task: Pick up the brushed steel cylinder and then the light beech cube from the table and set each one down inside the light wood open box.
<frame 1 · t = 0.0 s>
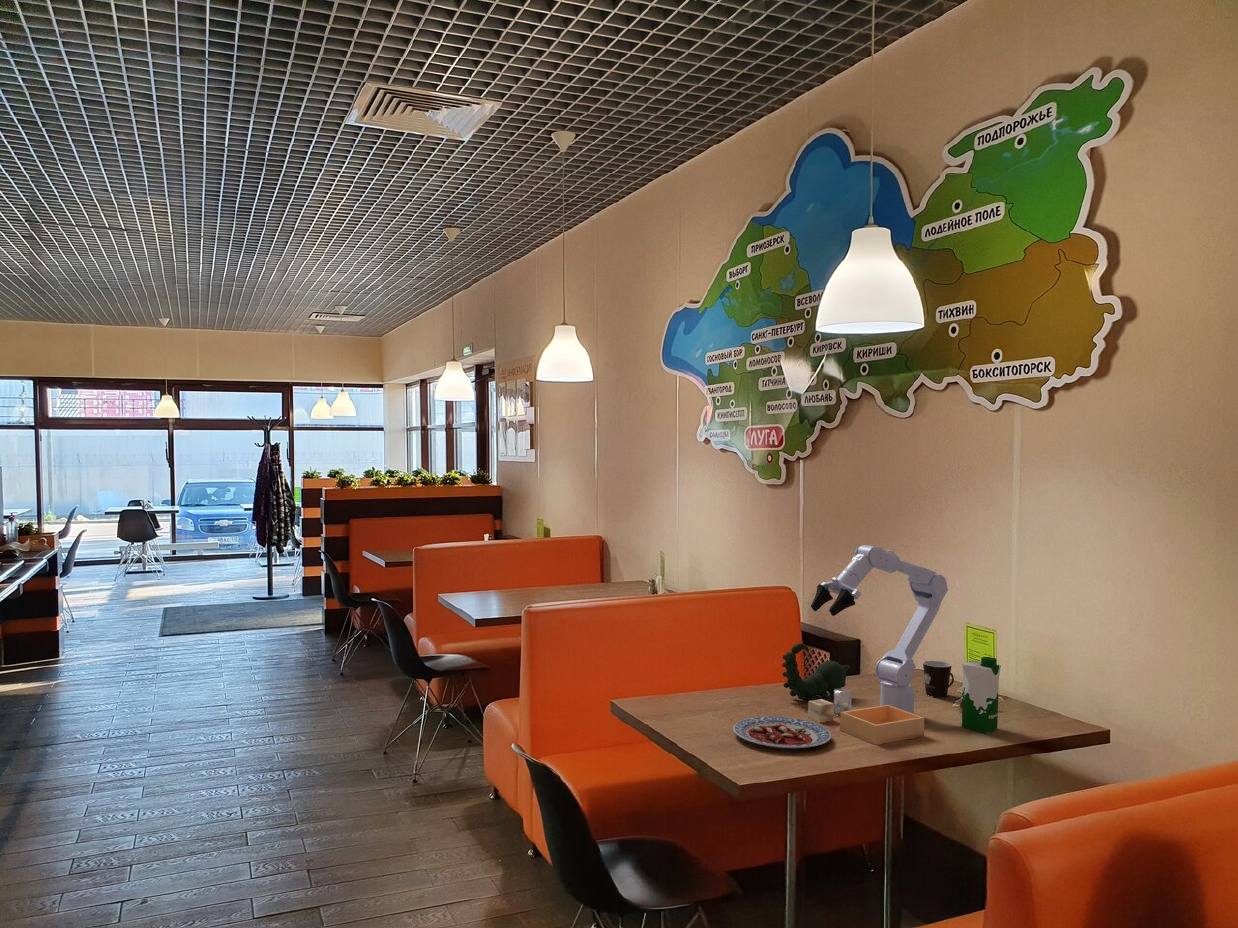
hand: (822, 611, 253), 32 cm above the table, tool tilted 50°, fingers open, 7 cm apart
ceramic plate: (781, 739, 242), on the table
beech cube: (820, 719, 260), on the table
milk carton: (979, 728, 255), on the table
steel cylinder: (842, 714, 265), on the table
coffee mug: (937, 696, 287), on the table
toy figurine: (817, 698, 282), on the table
light wood open box: (881, 732, 248), on the table
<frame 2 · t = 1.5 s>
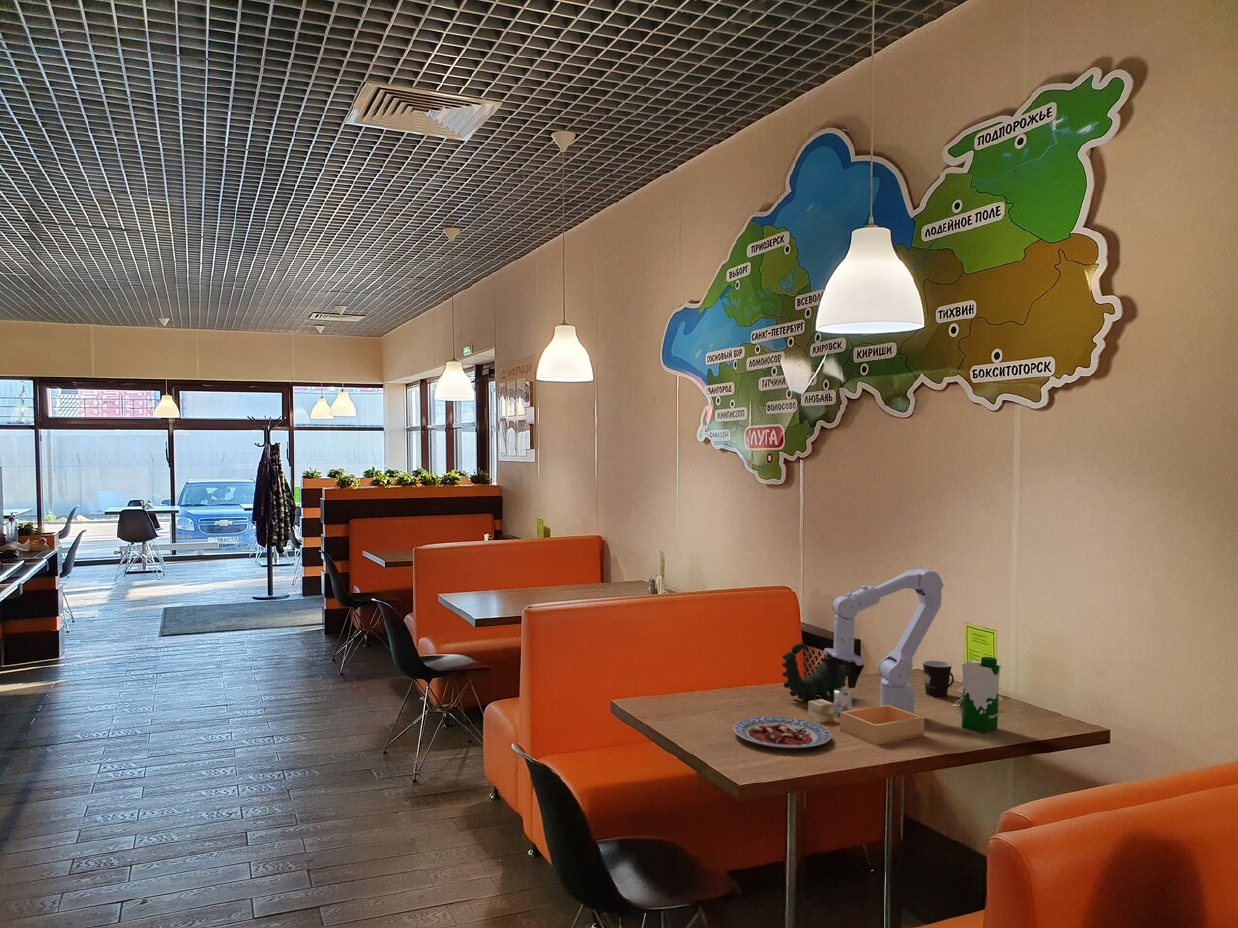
hand: (842, 684, 265), 9 cm above the table, tool pointing down, fingers open, 7 cm apart
nothing on the table moved.
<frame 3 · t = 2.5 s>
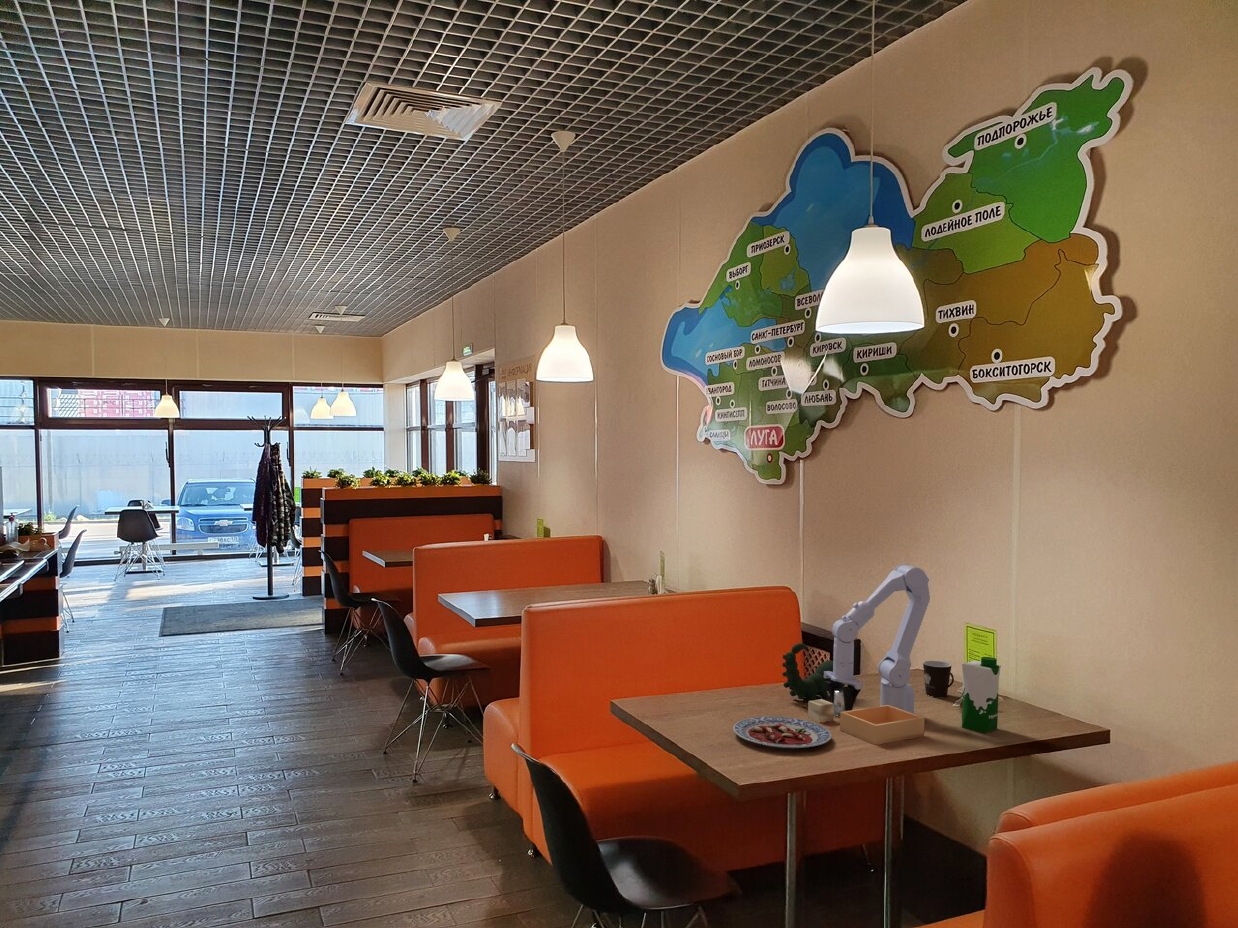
hand: (842, 707, 265), 2 cm above the table, tool pointing down, fingers closed on steel cylinder, 5 cm apart
steel cylinder: (842, 714, 265), on the table, touching gripper
everything else where it was.
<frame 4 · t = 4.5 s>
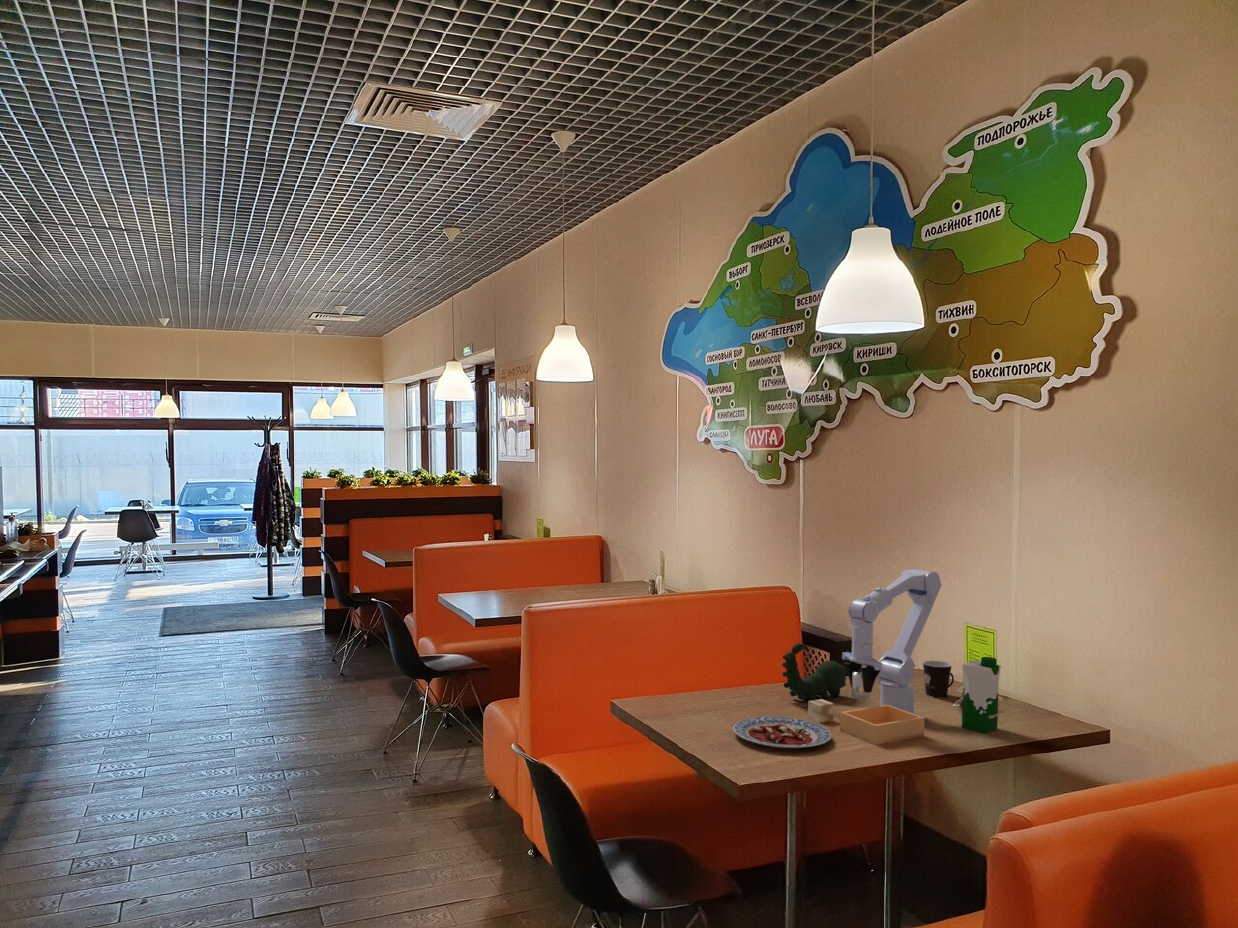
hand: (861, 689, 259), 9 cm above the table, tool pointing down, fingers closed on steel cylinder, 5 cm apart
steel cylinder: (860, 696, 259), point 7 cm above the table, touching gripper
everything else where it was.
when the fingers open (4 cm above the table, at t = 6.6 s): steel cylinder drops 1 cm, resting on light wood open box.
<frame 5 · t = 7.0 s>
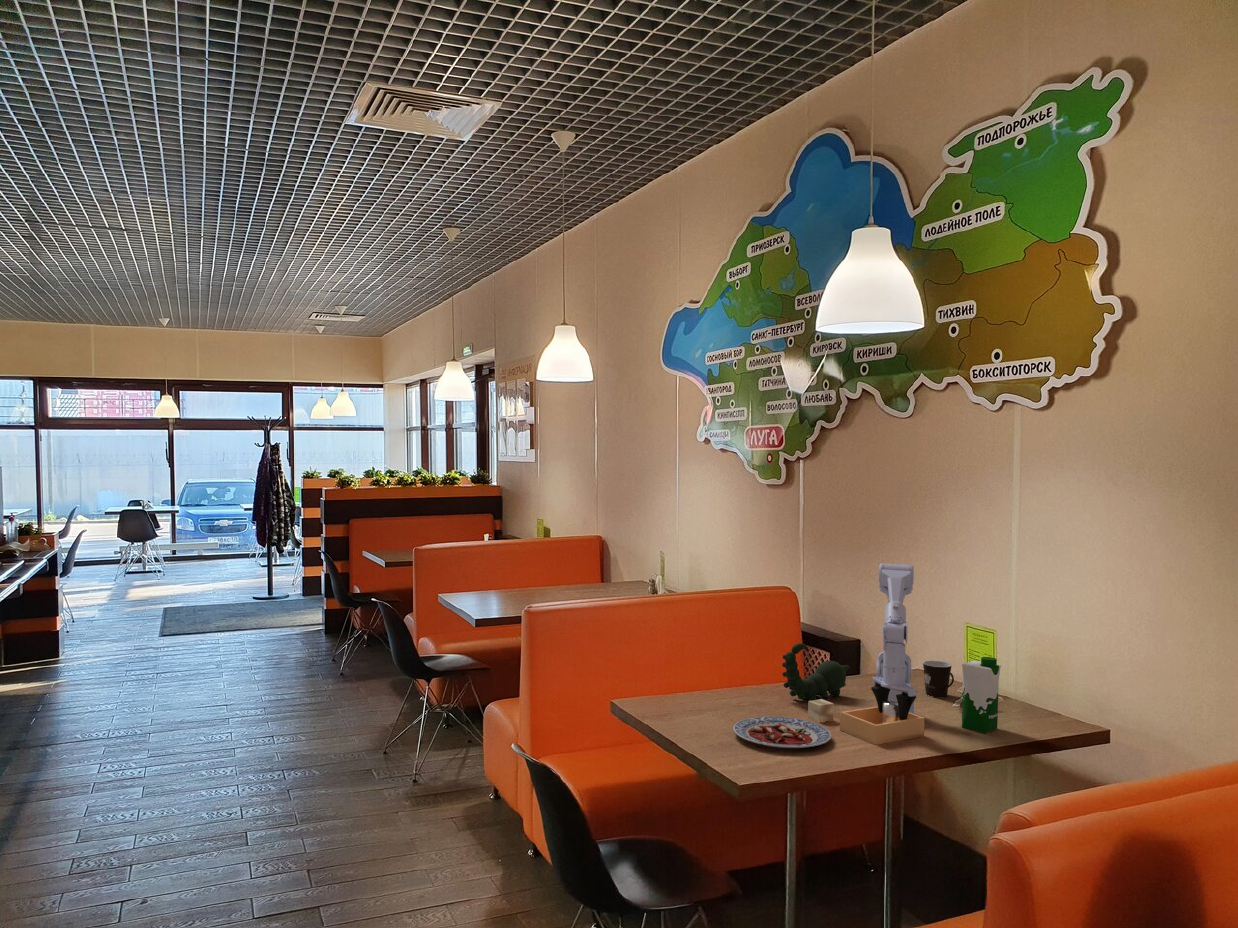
hand: (892, 715, 250), 4 cm above the table, tool pointing down, fingers open, 7 cm apart
steel cylinder: (891, 728, 250), point 1 cm above the table, touching light wood open box
everything else where it was.
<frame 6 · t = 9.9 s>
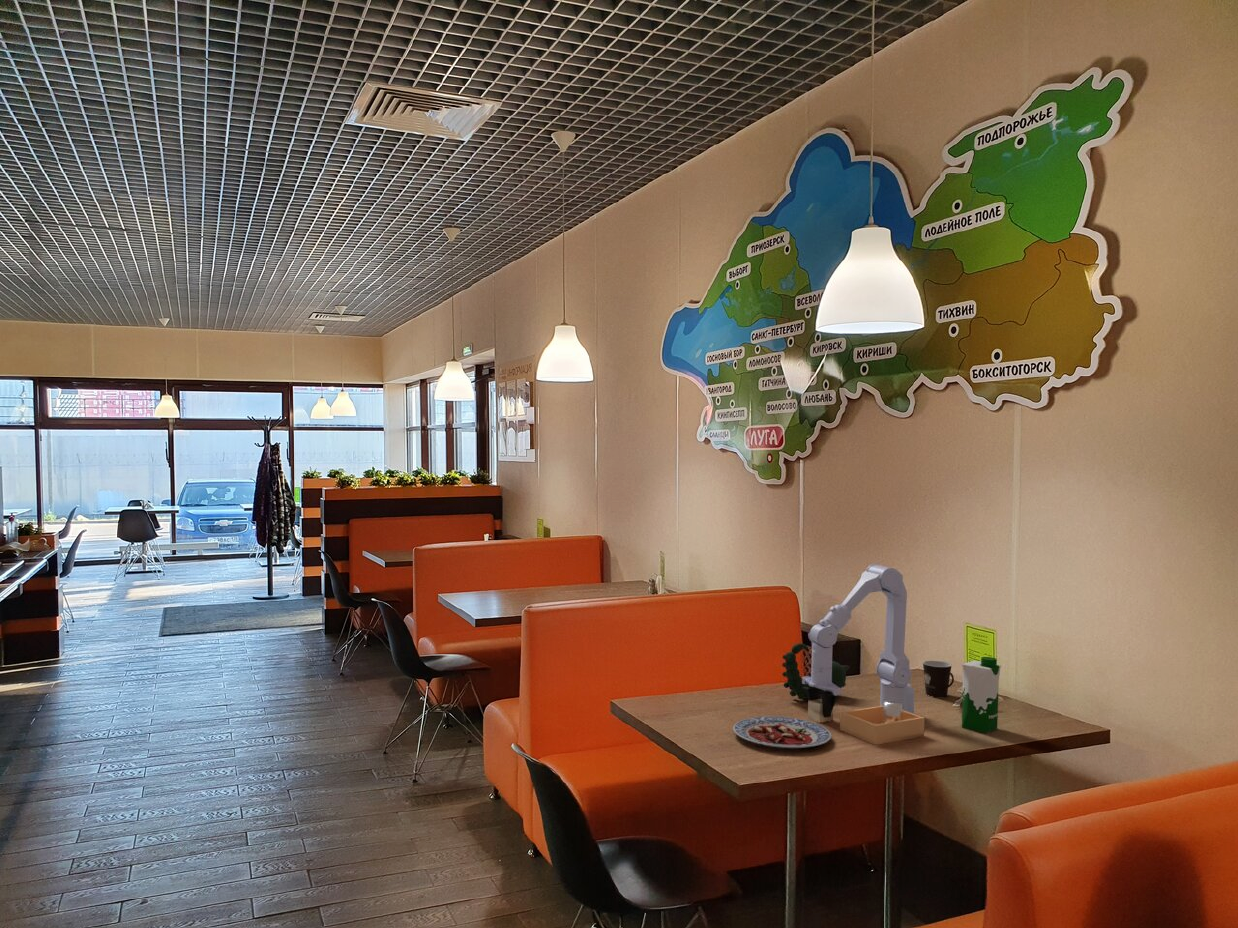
hand: (820, 714, 260), 1 cm above the table, tool pointing down, fingers closed on beech cube, 5 cm apart
beech cube: (820, 719, 260), on the table, touching gripper
everything else where it was.
when the fingers open (4 cm above the table, at t = 13.8 s): beech cube drops 1 cm, resting on light wood open box.
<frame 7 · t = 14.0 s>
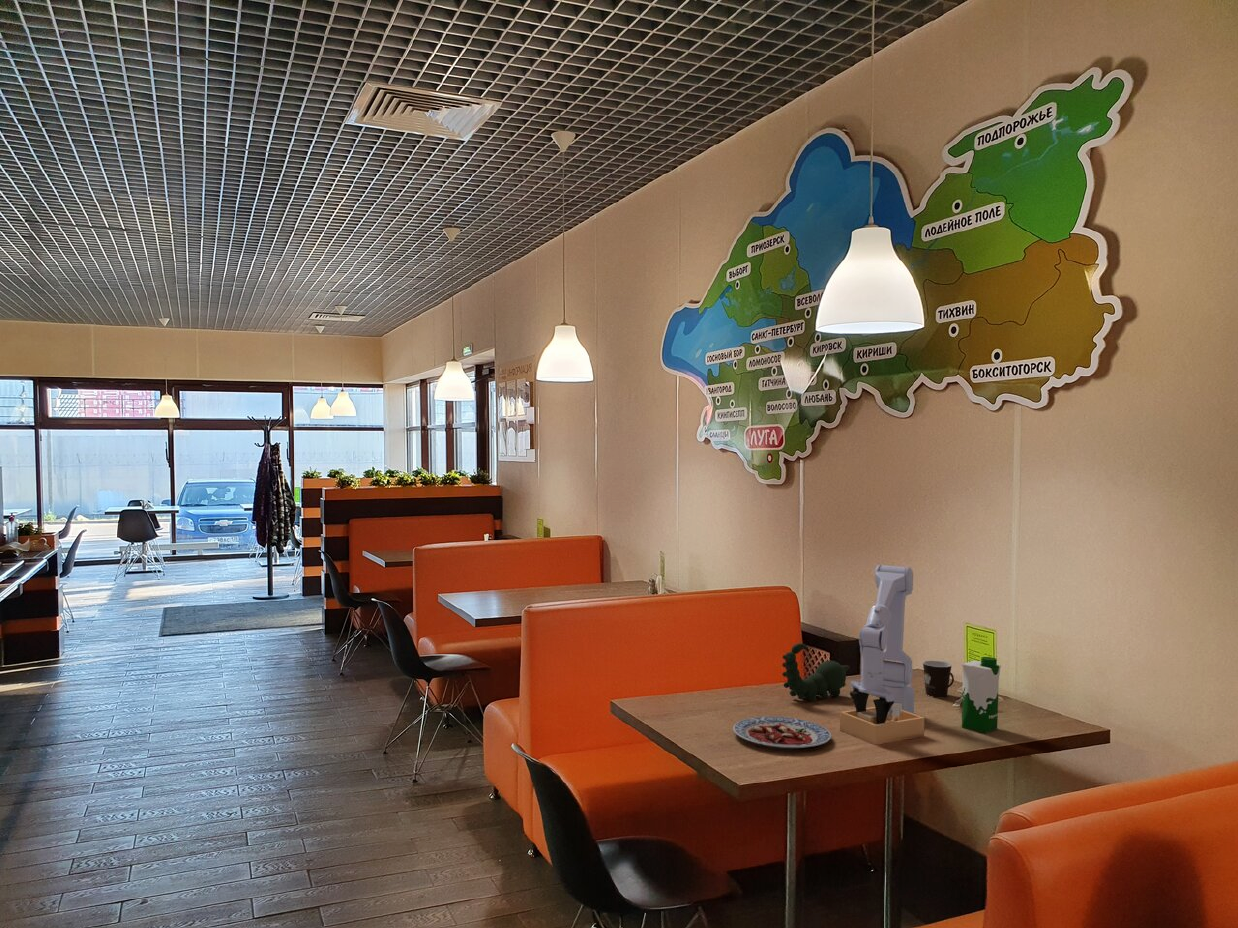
hand: (870, 721, 246), 4 cm above the table, tool pointing down, fingers open, 7 cm apart
beech cube: (870, 731, 246), point 1 cm above the table, touching light wood open box
everything else where it was.
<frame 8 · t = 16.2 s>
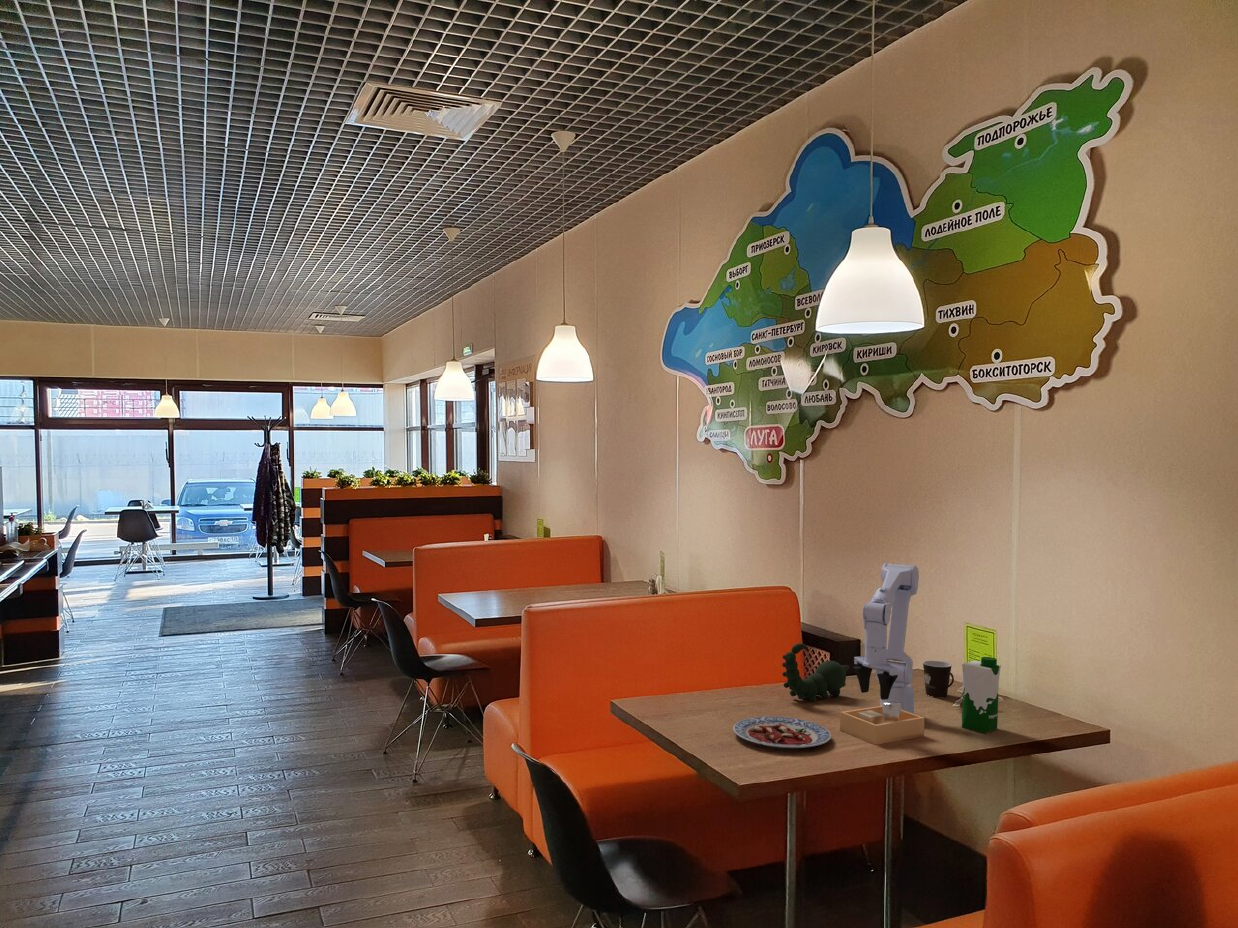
hand: (874, 695, 249), 10 cm above the table, tool pointing down, fingers open, 7 cm apart
nothing on the table moved.
at the end: steel cylinder inside the target area on the light wood open box (3.8 cm from its centre), point 0.9 cm above the light wood open box's base; beech cube inside the target area on the light wood open box (4.1 cm from its centre), point 0.8 cm above the light wood open box's base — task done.
